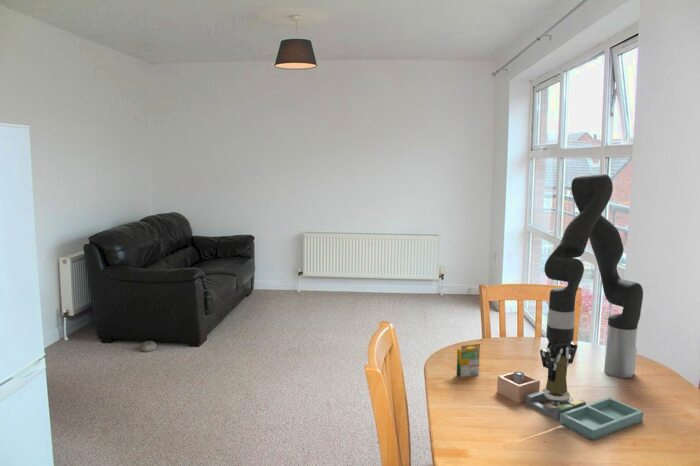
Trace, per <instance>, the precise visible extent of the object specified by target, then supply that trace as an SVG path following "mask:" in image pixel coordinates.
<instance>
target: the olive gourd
mask: <svg viewBox="0 0 700 466" xmlns="http://www.w3.org/2000/svg"><path fill="white" fill-rule="evenodd" d="M551 358H552V359H556V358H554V357H552V356H551ZM567 362H568V359H567V357H566V356H565V355H564V356H561V357H560V360H559V363H556V364H557V367H556V379H555V382H552V381H549V380H548V379H547V380H546V384H545V385H546V386H545V388H546V389H547V390H548V391H550V392H552V393H557V394H563V393H566V392H568V385H567V375H566V369H565V366H566V365H567ZM551 363H552V365H553V361H551Z"/></svg>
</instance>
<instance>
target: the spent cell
mask: <svg viewBox="0 0 700 466" xmlns="http://www.w3.org/2000/svg"><path fill="white" fill-rule="evenodd" d="M515 371H516V372H515ZM515 371H513V372H514V375H513V382H515V383H517V384H523V383H524V374H525V373H524V372H522V371H520V372H519V370H515Z"/></svg>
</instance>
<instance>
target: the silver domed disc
mask: <svg viewBox="0 0 700 466" xmlns="http://www.w3.org/2000/svg"><path fill="white" fill-rule="evenodd" d="M542 390H543V394H542V395H543V397H544V398H546V399H548V400H550V401H551V403H550V405H551V406H554V407H557V406H560V404H561V403H560V402H566V401H568V400H569V399H570V397H571V394H570V392H569V391H567V392H566V393H563V394H557V393H552V392H550V391H548V390H547V389H546V387H545V388H543V389H542Z"/></svg>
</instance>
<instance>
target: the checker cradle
mask: <svg viewBox="0 0 700 466" xmlns="http://www.w3.org/2000/svg"><path fill="white" fill-rule="evenodd" d="M542 394H543V389H542V390H539V391H538V392H535V393H531V394H528V395H526V401H525V405H526V406H528V407H530V408H532V409H534V410H536V411H538V412H540V413H542V414H544V415H546V416H547V417H550V418H551V419H553V420H555V421H556V422H557V421H559V418H560V413H563V412H566V411H569V410H572V409H575V408H578V407H581V406H584V405H587V401H584V400H582V399H576V400H573V399H570V398H569V400H568V401H566V402H560V404H561V405H559V406H555V407H554V408H550V407H548V406H546V405H544V403H545V402H549V401H550V400H548V399H546V398H544V397H543V395H542ZM542 403H543V404H542Z"/></svg>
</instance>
